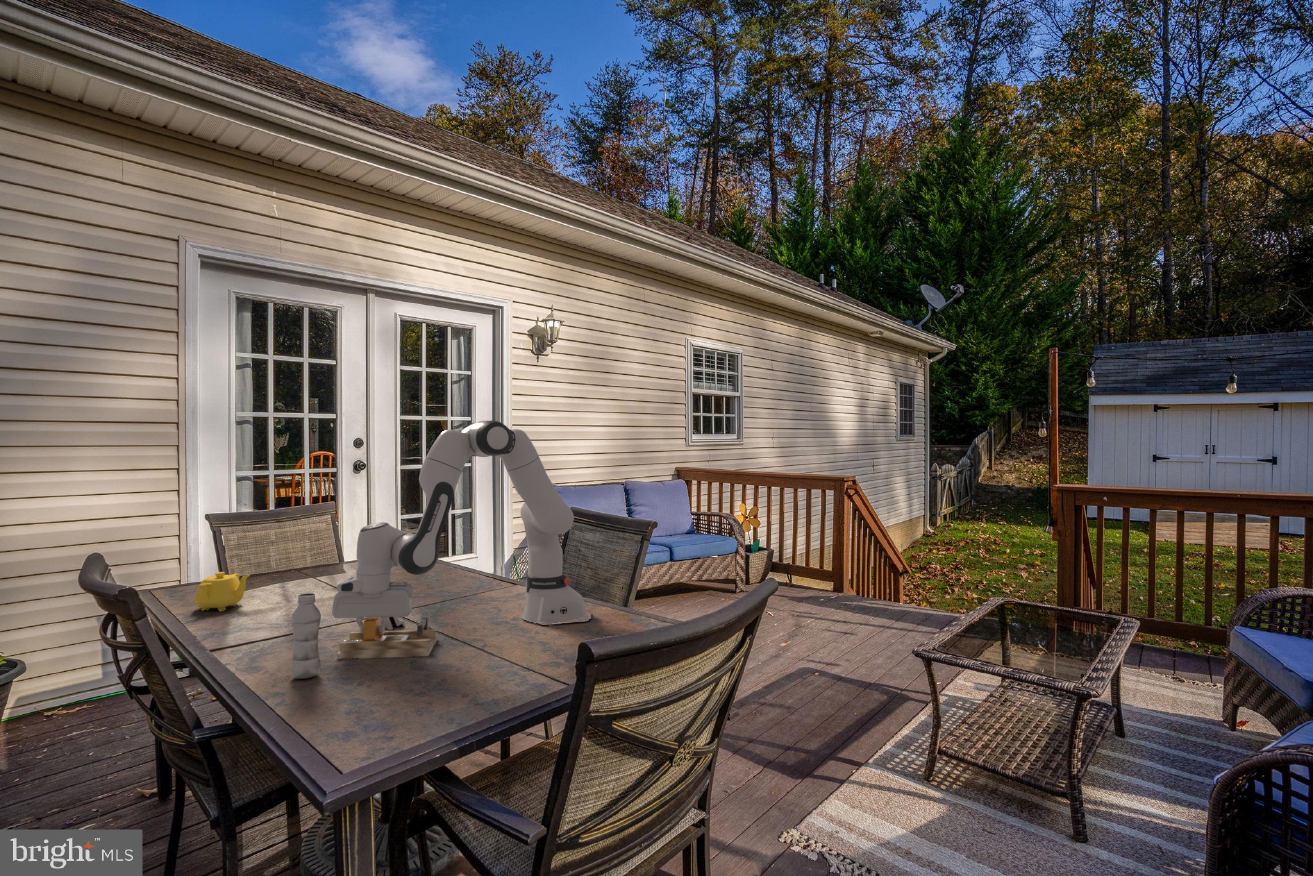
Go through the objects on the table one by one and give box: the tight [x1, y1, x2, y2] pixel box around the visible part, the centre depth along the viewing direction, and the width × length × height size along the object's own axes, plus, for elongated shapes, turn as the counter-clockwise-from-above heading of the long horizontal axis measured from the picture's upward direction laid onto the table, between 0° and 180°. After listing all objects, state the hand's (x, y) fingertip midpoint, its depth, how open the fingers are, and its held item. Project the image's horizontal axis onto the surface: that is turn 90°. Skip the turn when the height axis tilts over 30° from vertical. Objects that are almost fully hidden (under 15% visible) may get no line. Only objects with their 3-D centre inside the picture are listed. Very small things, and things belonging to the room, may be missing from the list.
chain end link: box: [338, 617, 410, 645], centre depth 176 cm, size 18×7×7 cm, turn 100°
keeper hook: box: [416, 616, 430, 637], centre depth 181 cm, size 2×8×5 cm, turn 10°
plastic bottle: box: [289, 592, 322, 680], centre depth 156 cm, size 6×7×20 cm
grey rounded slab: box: [381, 617, 406, 631], centre depth 201 cm, size 17×5×10 cm, turn 42°
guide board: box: [336, 629, 438, 660], centre depth 177 cm, size 23×14×4 cm, turn 100°
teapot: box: [194, 571, 251, 611], centre depth 213 cm, size 14×14×12 cm
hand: (372, 632), depth 176 cm, fingers closed on chain end link, 3 cm apart
